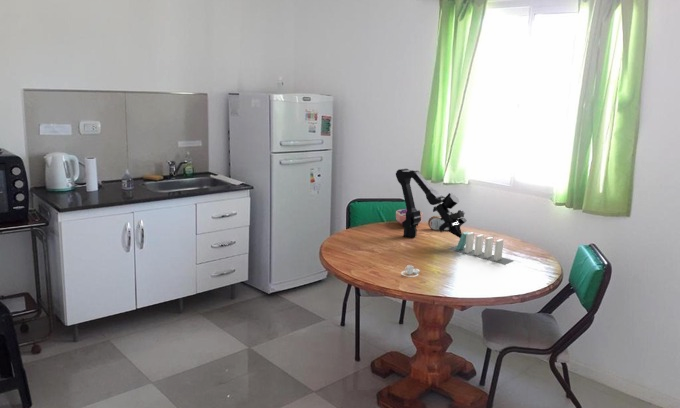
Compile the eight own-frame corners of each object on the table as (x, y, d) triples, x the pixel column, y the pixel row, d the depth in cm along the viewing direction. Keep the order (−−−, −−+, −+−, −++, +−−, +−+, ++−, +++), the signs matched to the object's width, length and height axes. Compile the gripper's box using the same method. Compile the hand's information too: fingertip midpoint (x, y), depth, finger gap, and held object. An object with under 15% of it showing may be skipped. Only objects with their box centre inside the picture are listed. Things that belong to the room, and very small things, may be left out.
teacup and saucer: (418, 271, 243) (418, 263, 242) (421, 277, 235) (422, 269, 235) (399, 271, 243) (400, 263, 242) (402, 277, 235) (402, 269, 234)
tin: (452, 230, 317) (453, 216, 315) (453, 231, 314) (454, 218, 312) (427, 228, 319) (428, 215, 317) (427, 230, 316) (428, 216, 314)
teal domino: (455, 248, 276) (462, 232, 272) (460, 247, 279) (467, 231, 275) (458, 250, 275) (465, 234, 271) (463, 248, 278) (470, 232, 274)
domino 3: (483, 257, 265) (485, 238, 263) (488, 255, 268) (490, 236, 266) (486, 258, 264) (488, 239, 262) (491, 256, 267) (493, 237, 265)
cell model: (390, 227, 318) (391, 209, 316) (399, 220, 337) (400, 203, 334) (418, 231, 312) (419, 212, 310) (425, 223, 330) (426, 206, 328)
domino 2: (474, 254, 269) (475, 236, 266) (479, 252, 272) (480, 234, 270) (476, 255, 267) (478, 236, 265) (481, 253, 271) (483, 235, 269)
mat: (446, 249, 277) (447, 249, 277) (457, 246, 284) (457, 245, 284) (504, 265, 254) (504, 264, 254) (514, 261, 261) (514, 260, 261)
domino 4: (493, 260, 261) (495, 240, 259) (498, 258, 265) (500, 239, 262) (496, 260, 260) (498, 241, 258) (501, 258, 264) (503, 239, 261)
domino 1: (464, 252, 272) (466, 233, 270) (469, 250, 276) (471, 232, 274) (467, 253, 271) (469, 234, 269) (472, 251, 275) (474, 232, 273)
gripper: (445, 207, 269) (462, 232, 264) (464, 202, 282) (481, 226, 277) (431, 219, 276) (448, 244, 271) (451, 214, 289) (467, 237, 284)
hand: (461, 237), depth 275 cm, fingers closed
